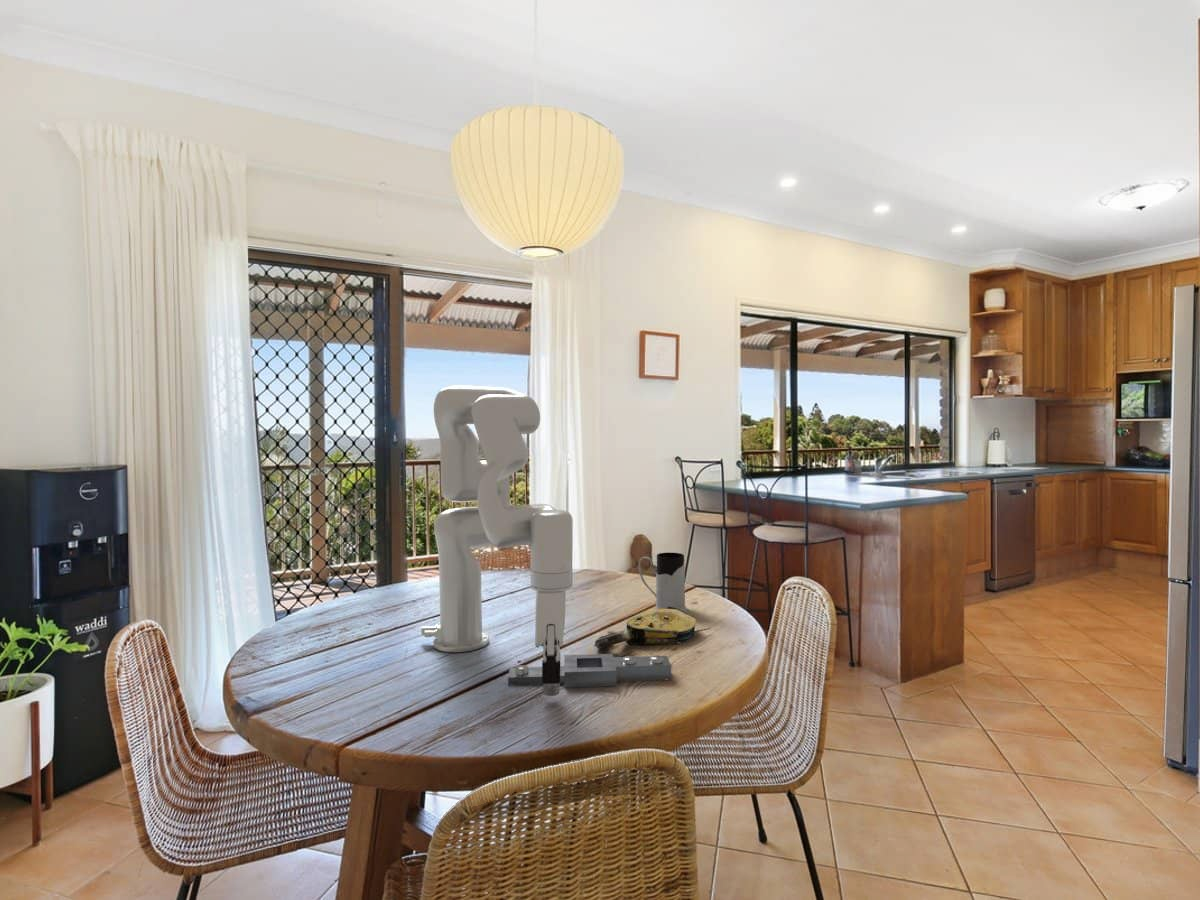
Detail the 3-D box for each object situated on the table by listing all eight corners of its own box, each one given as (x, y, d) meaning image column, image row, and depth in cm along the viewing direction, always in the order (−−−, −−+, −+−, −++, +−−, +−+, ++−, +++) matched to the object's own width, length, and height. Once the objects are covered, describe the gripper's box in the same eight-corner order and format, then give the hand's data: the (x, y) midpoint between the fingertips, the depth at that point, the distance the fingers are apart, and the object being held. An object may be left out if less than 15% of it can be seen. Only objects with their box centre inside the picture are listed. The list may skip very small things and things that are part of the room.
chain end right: (564, 687, 118) (564, 669, 118) (564, 669, 127) (564, 652, 127) (672, 684, 119) (672, 665, 119) (665, 666, 128) (665, 649, 128)
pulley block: (579, 617, 142) (676, 596, 159) (577, 640, 142) (674, 617, 160) (615, 643, 130) (715, 618, 147) (613, 668, 131) (713, 640, 148)
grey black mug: (678, 615, 163) (678, 559, 163) (631, 607, 171) (631, 554, 170) (691, 607, 171) (691, 553, 170) (646, 600, 178) (645, 549, 178)
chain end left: (506, 689, 117) (506, 677, 117) (511, 671, 126) (510, 659, 126) (616, 686, 118) (616, 673, 118) (612, 668, 127) (612, 656, 127)
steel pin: (539, 697, 109) (539, 641, 109) (540, 687, 113) (540, 633, 113) (562, 697, 110) (562, 641, 109) (562, 687, 114) (562, 633, 113)
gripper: (533, 568, 119) (533, 661, 119) (528, 591, 102) (527, 699, 103) (571, 567, 119) (571, 660, 120) (573, 591, 103) (572, 698, 104)
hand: (551, 677), depth 111 cm, fingers closed on steel pin, 3 cm apart
